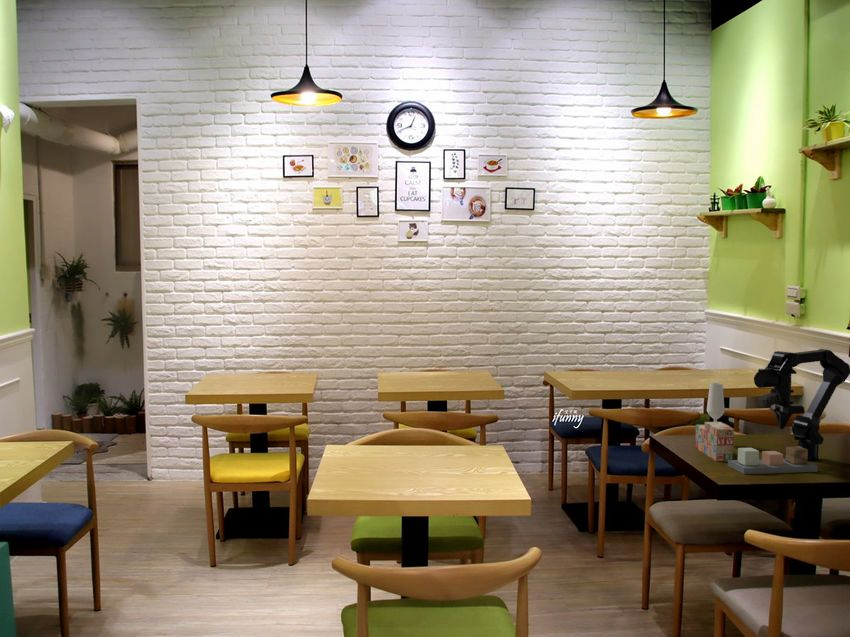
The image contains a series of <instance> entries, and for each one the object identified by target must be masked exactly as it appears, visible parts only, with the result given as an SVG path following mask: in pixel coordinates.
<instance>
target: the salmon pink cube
mask: <svg viewBox="0 0 850 637" xmlns="http://www.w3.org/2000/svg"><path fill="white" fill-rule="evenodd" d="M761 459H762V462H763V463H765V464H767V465H783V459H784V453H781V452H779V451H776V450H763V451H761Z"/></svg>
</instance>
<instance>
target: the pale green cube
mask: <svg viewBox="0 0 850 637" xmlns="http://www.w3.org/2000/svg"><path fill="white" fill-rule="evenodd" d="M759 459H760V451H759V450H758V449H756V448H753V447H738V448H737V460H738V462H739V463H741V464H743V465H745V466H749V465H759Z"/></svg>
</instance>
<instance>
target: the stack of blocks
mask: <svg viewBox="0 0 850 637" xmlns="http://www.w3.org/2000/svg"><path fill="white" fill-rule="evenodd" d="M694 431H695V449H697V450H699V451H700V452H701V453H702V454H705V455H706V456H707V457H709V458H710V459H712V460H714V461H715V462H728V460H734V442H735V441H734V438H735V436H734V435H735V428H733V427H731V426H730V425H728V424H726V423H724V422H722V421H717V422H714V421H704V424H695V430H694Z"/></svg>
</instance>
